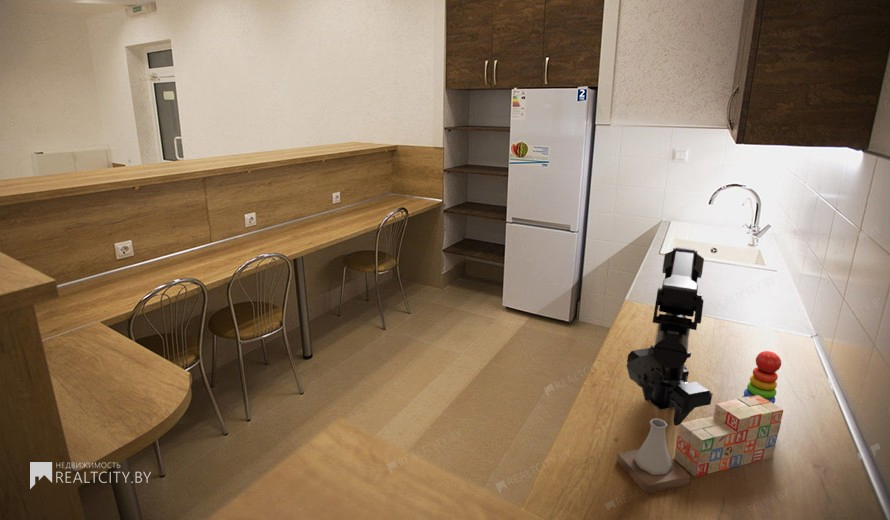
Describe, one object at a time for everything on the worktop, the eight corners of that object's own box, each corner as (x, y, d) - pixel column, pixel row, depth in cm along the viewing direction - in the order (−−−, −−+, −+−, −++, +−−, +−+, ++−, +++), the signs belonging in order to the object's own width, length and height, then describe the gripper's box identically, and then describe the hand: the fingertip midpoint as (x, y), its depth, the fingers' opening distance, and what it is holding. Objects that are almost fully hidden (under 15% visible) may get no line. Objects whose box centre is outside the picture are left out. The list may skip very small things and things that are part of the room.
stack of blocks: (695, 478, 105) (704, 427, 101) (673, 459, 110) (681, 410, 107) (773, 457, 111) (784, 408, 107) (749, 440, 117) (758, 393, 113)
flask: (626, 458, 107) (631, 417, 104) (652, 449, 110) (657, 409, 107) (653, 480, 101) (659, 437, 98) (679, 470, 104) (686, 428, 101)
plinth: (616, 461, 109) (617, 453, 109) (656, 453, 112) (657, 445, 111) (646, 493, 100) (647, 485, 100) (688, 484, 103) (689, 476, 102)
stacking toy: (738, 426, 121) (752, 356, 116) (732, 408, 129) (745, 341, 123) (776, 433, 119) (792, 362, 113) (768, 415, 126) (783, 347, 121)
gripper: (609, 329, 107) (602, 393, 112) (668, 374, 90) (657, 447, 95) (654, 323, 110) (645, 386, 115) (720, 365, 93) (706, 436, 98)
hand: (661, 411), depth 105 cm, fingers open, 9 cm apart
